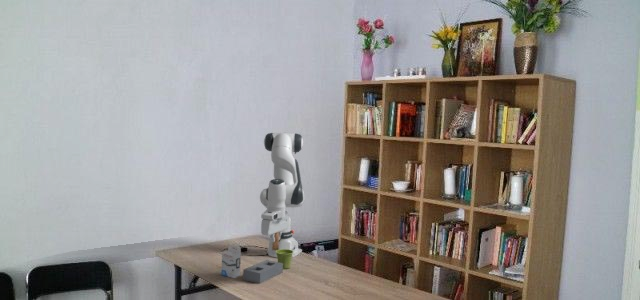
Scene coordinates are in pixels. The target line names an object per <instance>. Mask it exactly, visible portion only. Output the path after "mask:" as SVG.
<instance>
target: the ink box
mask: <svg viewBox="0 0 640 300" xmlns="http://www.w3.org/2000/svg"><path fill="white" fill-rule="evenodd" d="M227 249H228V250H224V251H221V276H224V277H228V278H230V279H231V278H233V279H236V278H239V277H240V276H241V258H242V257H241V256H242V253H241V251H242V250H241V249H242V247H241V246H240V245H239V246H238V245H235V244H229V243H228V248H227Z"/></svg>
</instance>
